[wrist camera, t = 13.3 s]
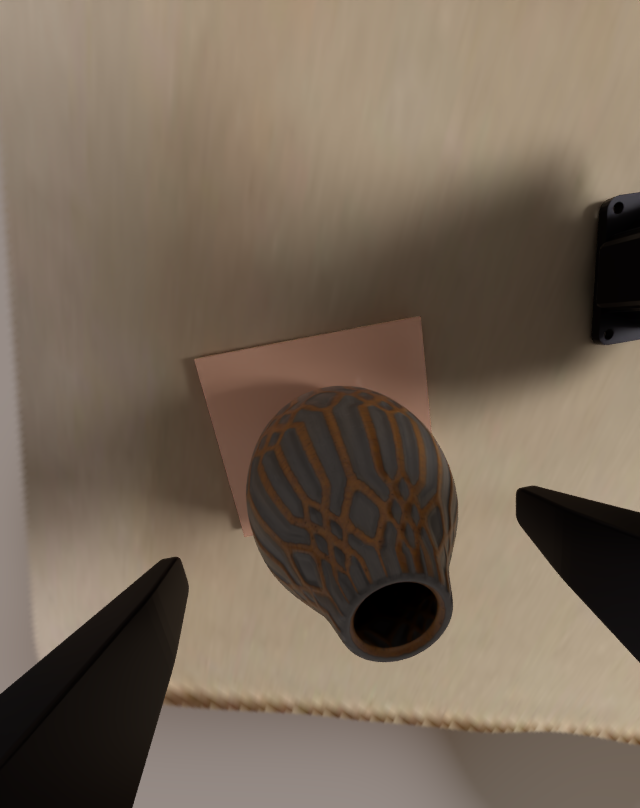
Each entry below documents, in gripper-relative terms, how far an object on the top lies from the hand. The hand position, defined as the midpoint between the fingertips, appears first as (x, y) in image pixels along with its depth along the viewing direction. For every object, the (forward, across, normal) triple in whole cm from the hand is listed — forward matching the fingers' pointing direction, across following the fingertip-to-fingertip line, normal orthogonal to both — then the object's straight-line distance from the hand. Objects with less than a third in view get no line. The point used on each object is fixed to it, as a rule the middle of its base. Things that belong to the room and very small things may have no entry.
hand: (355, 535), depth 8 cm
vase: (+7, 0, 0) cm, 7 cm away
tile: (+8, 0, -5) cm, 9 cm away
